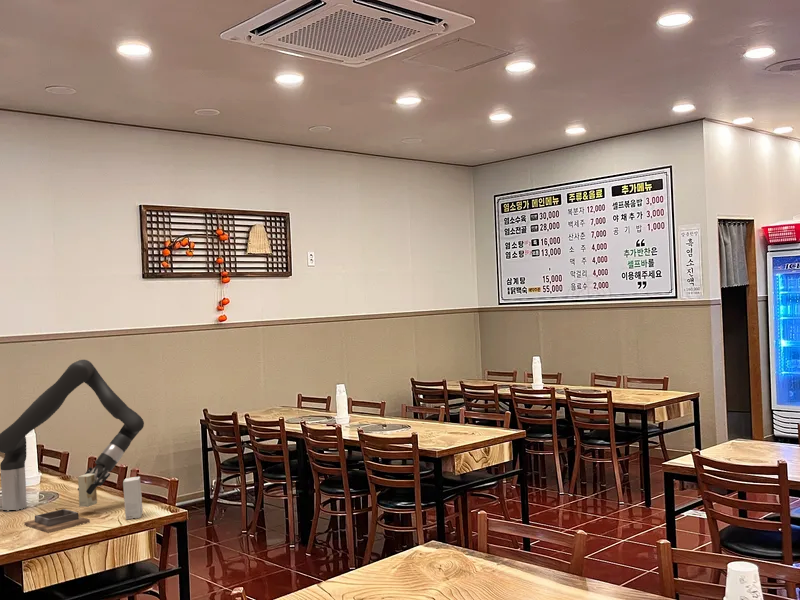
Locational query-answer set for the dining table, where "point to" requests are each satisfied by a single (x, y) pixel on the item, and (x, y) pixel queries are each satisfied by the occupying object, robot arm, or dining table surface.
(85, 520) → the collar board
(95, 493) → the skincare box
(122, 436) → the robot arm
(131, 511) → the skincare box
